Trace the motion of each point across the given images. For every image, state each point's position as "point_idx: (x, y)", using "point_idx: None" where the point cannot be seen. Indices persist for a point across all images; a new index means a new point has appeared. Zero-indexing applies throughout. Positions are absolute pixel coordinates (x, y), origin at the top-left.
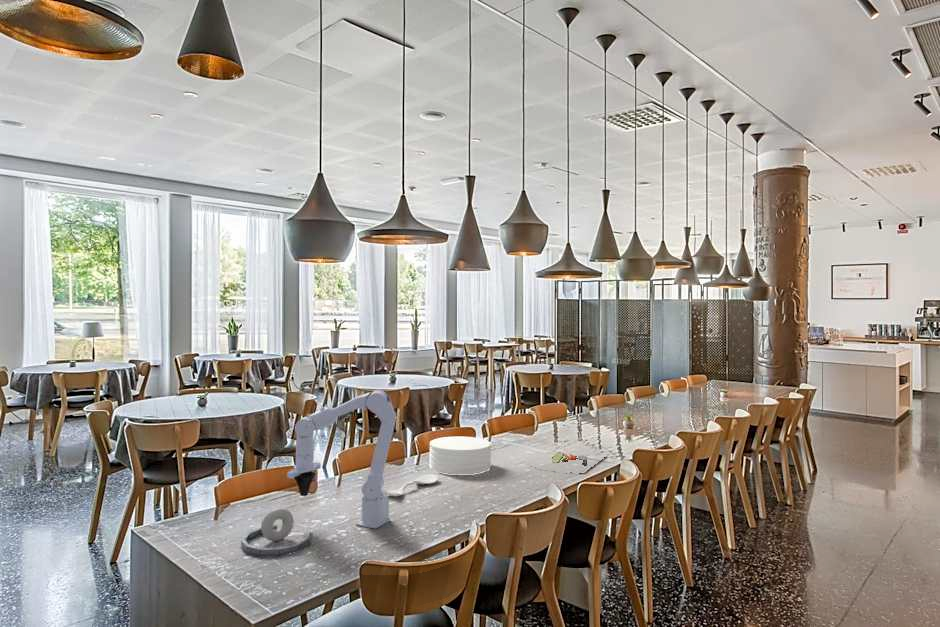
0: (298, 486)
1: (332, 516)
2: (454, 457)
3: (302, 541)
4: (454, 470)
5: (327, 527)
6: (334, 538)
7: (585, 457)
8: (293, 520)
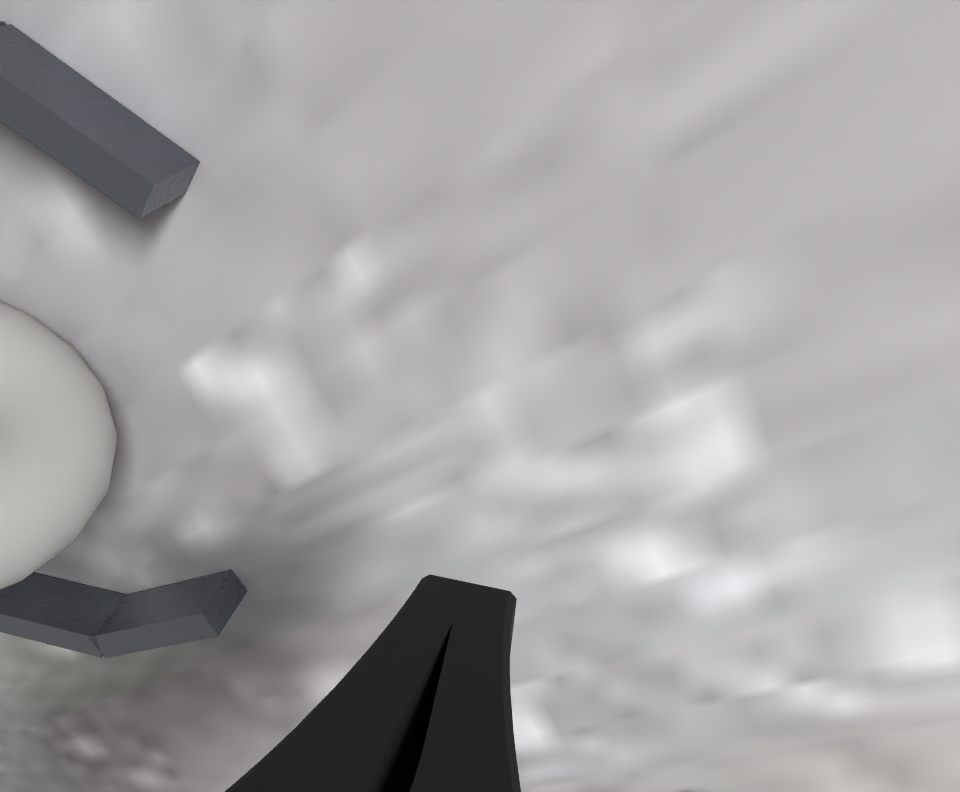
0: (309, 721)
1: (911, 551)
2: None
3: (34, 627)
4: None
5: (542, 609)
6: None
7: None
8: (53, 556)
